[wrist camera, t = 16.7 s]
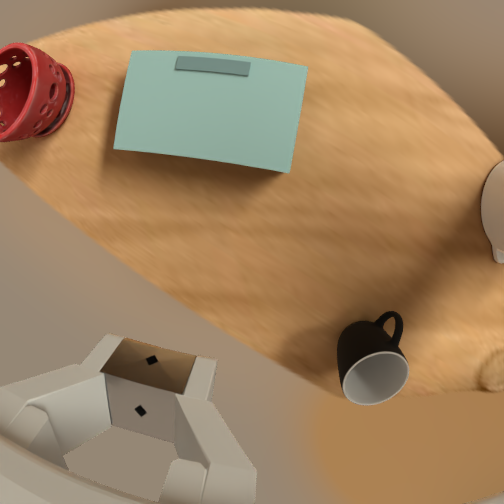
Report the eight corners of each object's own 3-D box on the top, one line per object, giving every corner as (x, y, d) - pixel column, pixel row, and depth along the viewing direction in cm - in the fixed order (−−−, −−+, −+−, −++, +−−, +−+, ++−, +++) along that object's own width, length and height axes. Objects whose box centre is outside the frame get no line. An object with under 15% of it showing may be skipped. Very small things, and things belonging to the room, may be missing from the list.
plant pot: (62, 153, 40) (8, 158, 29) (12, 123, 39) (-40, 124, 27) (100, 71, 36) (51, 53, 25) (44, 49, 35) (-5, 34, 24)
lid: (307, 69, 31) (308, 65, 30) (289, 173, 34) (289, 173, 33) (135, 53, 31) (131, 50, 30) (117, 149, 34) (112, 148, 33)
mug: (367, 369, 47) (382, 411, 38) (319, 352, 47) (328, 396, 37) (409, 307, 44) (436, 343, 34) (361, 285, 43) (382, 320, 34)
